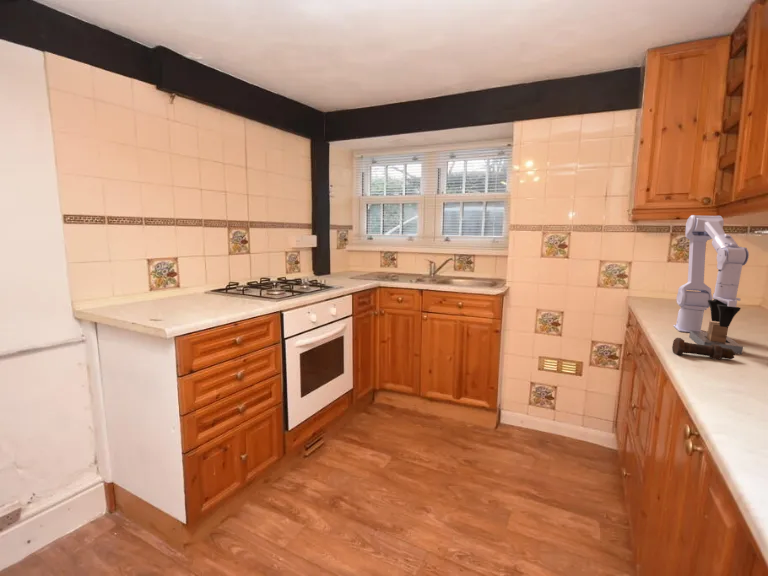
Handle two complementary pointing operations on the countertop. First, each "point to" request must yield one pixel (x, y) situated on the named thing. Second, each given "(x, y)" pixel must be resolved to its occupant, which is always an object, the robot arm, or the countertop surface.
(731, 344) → the collar plate
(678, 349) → the bolt
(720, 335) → the pin
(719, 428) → the countertop surface
